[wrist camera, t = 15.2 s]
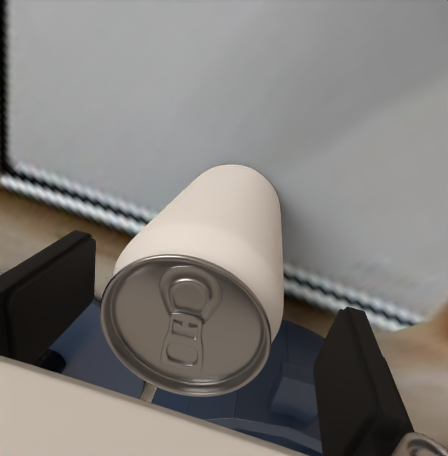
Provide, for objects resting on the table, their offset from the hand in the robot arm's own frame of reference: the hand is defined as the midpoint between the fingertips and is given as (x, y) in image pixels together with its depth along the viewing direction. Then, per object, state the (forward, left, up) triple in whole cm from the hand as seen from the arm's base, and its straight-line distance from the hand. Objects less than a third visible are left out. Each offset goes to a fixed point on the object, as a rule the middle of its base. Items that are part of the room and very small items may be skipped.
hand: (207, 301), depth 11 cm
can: (0, 0, -10) cm, 10 cm away
